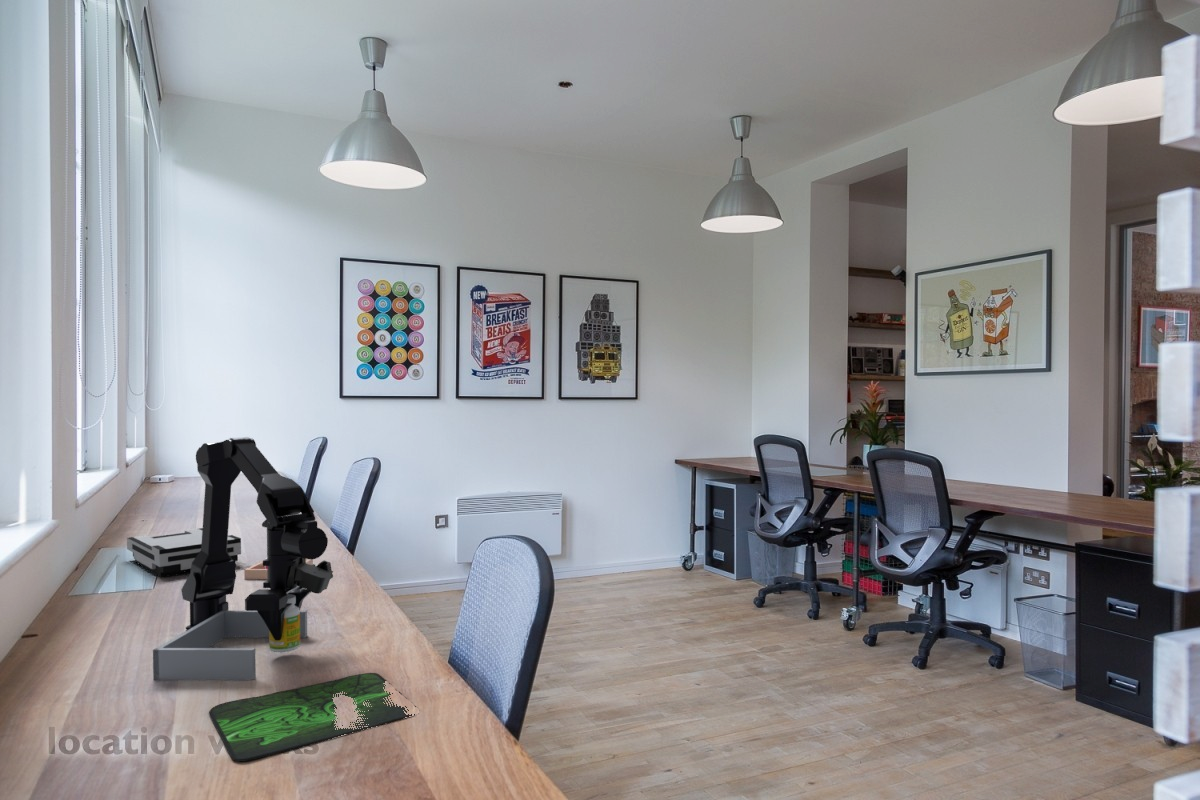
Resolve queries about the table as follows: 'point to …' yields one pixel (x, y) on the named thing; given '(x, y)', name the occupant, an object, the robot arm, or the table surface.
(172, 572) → the game console
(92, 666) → the table surface
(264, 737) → the mouse mat
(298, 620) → the supplement bottle
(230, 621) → the open side box
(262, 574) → the ball dish
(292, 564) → the robot arm
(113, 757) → the table surface
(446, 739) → the table surface
